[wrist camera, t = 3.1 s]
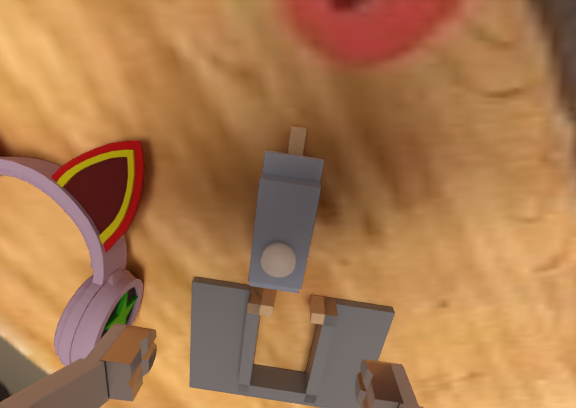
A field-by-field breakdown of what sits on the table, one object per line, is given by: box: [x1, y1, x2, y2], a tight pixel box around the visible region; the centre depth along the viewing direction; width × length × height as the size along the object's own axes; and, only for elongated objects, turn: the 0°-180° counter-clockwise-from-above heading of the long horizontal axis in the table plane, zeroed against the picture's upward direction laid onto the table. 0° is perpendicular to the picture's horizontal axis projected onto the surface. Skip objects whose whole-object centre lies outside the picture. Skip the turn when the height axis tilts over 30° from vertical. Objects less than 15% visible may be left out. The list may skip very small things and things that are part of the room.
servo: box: [248, 125, 324, 293], centre depth 22 cm, size 4×12×7 cm, turn 172°
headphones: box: [0, 141, 145, 366], centre depth 23 cm, size 20×10×20 cm
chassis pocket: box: [190, 277, 395, 408], centre depth 30 cm, size 20×15×2 cm
